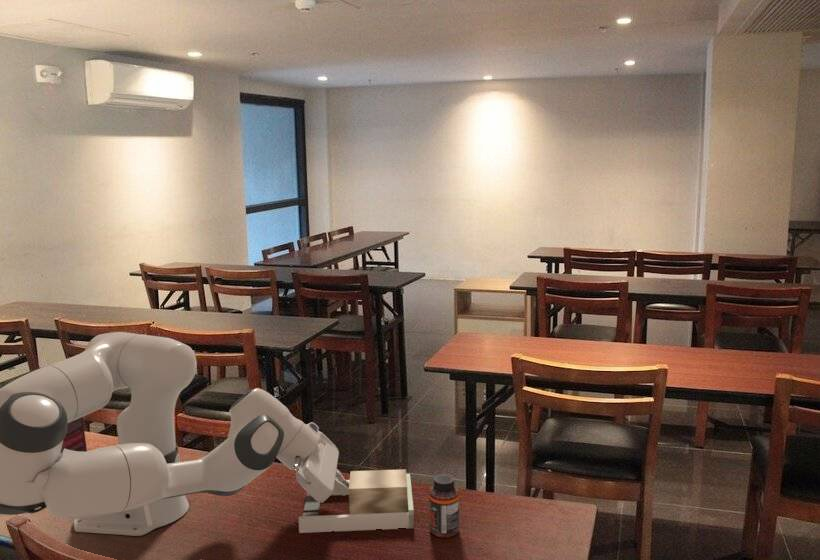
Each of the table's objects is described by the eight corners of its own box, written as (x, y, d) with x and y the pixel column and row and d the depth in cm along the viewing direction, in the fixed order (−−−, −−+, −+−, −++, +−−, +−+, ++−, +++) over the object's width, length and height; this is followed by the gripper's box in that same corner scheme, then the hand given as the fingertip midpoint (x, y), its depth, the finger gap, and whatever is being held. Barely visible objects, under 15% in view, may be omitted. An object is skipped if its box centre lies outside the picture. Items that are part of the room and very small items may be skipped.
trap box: (299, 532, 138) (298, 514, 137) (307, 494, 153) (306, 477, 153) (413, 528, 139) (413, 509, 138) (410, 490, 154) (409, 473, 154)
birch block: (349, 520, 142) (348, 488, 141) (351, 501, 150) (350, 471, 149) (407, 518, 143) (407, 486, 141) (406, 499, 150) (405, 469, 149)
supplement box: (74, 460, 173) (67, 400, 170) (89, 463, 171) (82, 402, 168) (45, 475, 165) (37, 412, 162) (60, 478, 163) (53, 414, 160)
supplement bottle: (424, 527, 139) (423, 474, 137) (450, 520, 141) (450, 469, 139) (437, 542, 134) (436, 487, 131) (464, 535, 136) (464, 481, 134)
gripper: (303, 459, 132) (355, 505, 134) (314, 419, 152) (359, 459, 154) (281, 481, 133) (333, 526, 135) (294, 438, 153) (340, 478, 155)
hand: (347, 490), depth 145 cm, fingers closed, pressing on birch block
